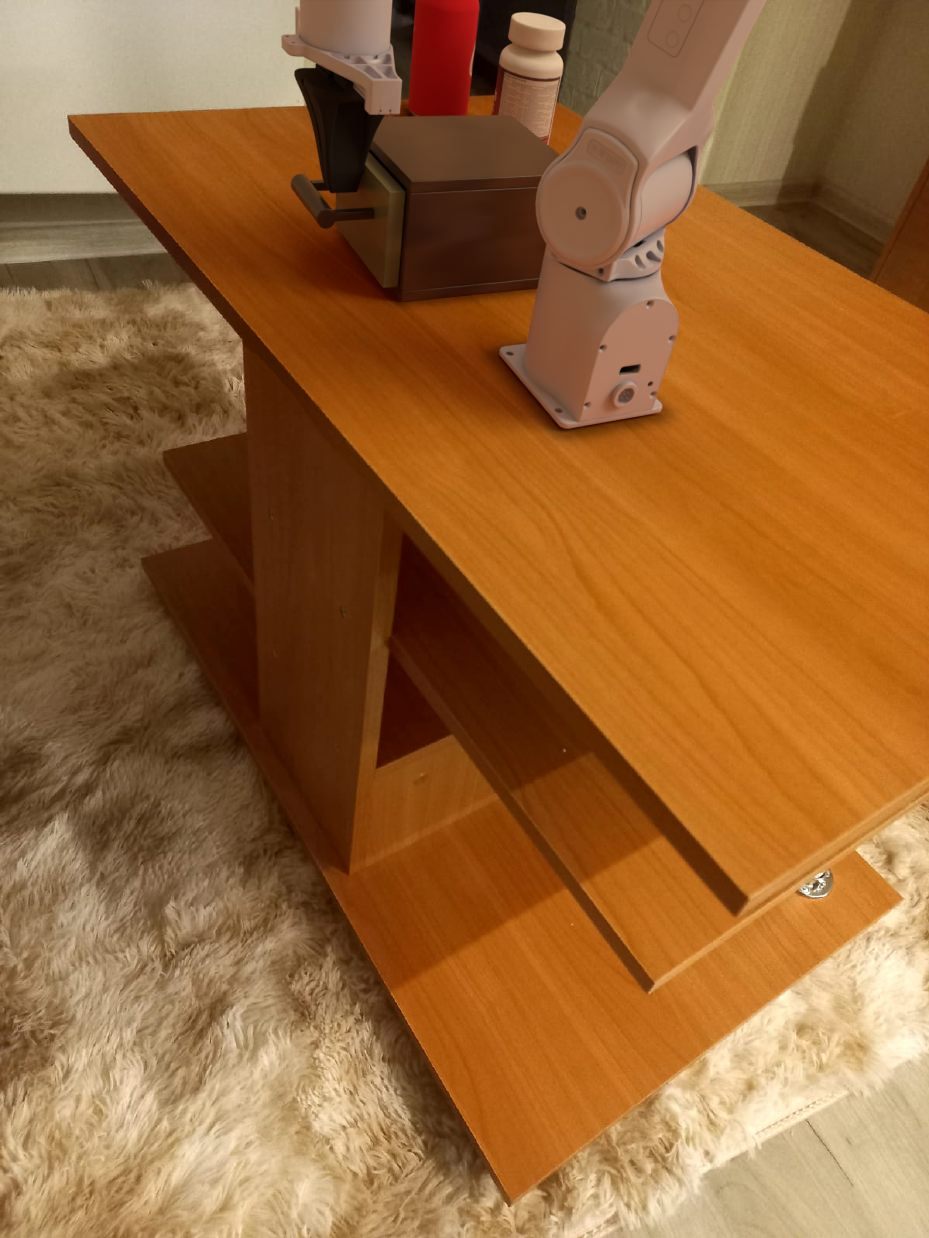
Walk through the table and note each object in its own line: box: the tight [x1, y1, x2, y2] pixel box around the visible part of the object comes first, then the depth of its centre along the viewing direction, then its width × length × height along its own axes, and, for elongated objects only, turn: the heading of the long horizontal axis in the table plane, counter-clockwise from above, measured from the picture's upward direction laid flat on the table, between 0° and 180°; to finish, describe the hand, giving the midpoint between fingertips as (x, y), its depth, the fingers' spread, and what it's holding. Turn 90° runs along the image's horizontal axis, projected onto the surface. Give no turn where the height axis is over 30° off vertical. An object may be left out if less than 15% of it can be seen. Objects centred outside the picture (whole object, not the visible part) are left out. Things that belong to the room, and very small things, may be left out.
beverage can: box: [407, 0, 480, 117], centre depth 88 cm, size 6×6×12 cm
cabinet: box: [369, 114, 561, 303], centre depth 67 cm, size 14×12×9 cm
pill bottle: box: [491, 11, 566, 146], centre depth 85 cm, size 6×6×11 cm
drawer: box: [290, 152, 406, 289], centre depth 66 cm, size 17×10×7 cm, turn 115°
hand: (340, 189), depth 62 cm, fingers closed
